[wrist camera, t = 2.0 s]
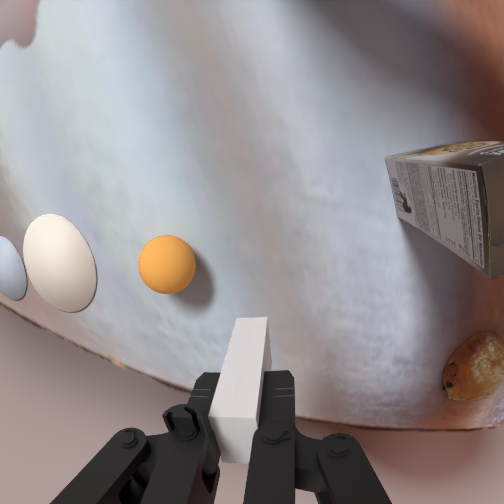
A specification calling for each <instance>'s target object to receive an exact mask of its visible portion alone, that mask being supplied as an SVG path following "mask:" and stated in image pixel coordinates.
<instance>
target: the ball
mask: <svg viewBox="0 0 504 504" xmlns="http://www.w3.org/2000/svg"><path fill="white" fill-rule="evenodd" d="M138 268H139V273H140V276H141V278H142V280H143V281H144V283H145V284H146V285H147V286H148V287H149V288H151V289H152V290H154V291H156V292H158V293H162V294H173V293H176V292H179V291H181V290H183V289H184V288H185V287H187V285H188V284H189V283H190V282H191V280H192V279H193V277H194V274H195V270H196V260H195V256H194V253H193V251H192V249H191V248H190V246H189V245H188V244H187V243H186V242H185V241H183V240H182V239H180V238H178V237H175V236H170V235H164V236H159V237H156V238H154V239H152V240H151V241H149V242H148V243H147V244H146V245H145V246H144V248H143V249H142V251H141V253H140V256H139V261H138Z"/></svg>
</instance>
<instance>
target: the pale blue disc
mask: <svg viewBox="0 0 504 504" xmlns="http://www.w3.org/2000/svg"><path fill="white" fill-rule="evenodd" d="M26 287H27V277H26V271H25V267H24V263H23V261H22V258H21V256H20V254H19V252H18V250H17V249H16V247H15V246H14V244H13V243H12V242H11V241H10V240H9V239H7V238H6V237H3V236H0V291H1V292H2V293H3V294H4V295H5V296H6V297H8V298H10V299H12V300H19V299H20V298H22V297H23V296H24V294H25V292H26Z"/></svg>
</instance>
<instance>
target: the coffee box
mask: <svg viewBox="0 0 504 504" xmlns="http://www.w3.org/2000/svg"><path fill="white" fill-rule="evenodd" d="M385 160H386V165H387V169H388V173H389V177H390V182H391V186H392V191H393V196H394V200H395V205H396V210H397V216H398V217H399V218H401V219H402V220H404V221H406V222H407V223H409V224H411V225H412V226H414V227H415V228H417V229H419V230H420V231H422V232H423V233H425V234H427V235H428V236H430V237H431V238H433V239H434V240H436V241H437V242H439V243H440V244H442V245H443V246H445V247H446V248H448V249H449V250H451V251H452V252H454V253H455V254H456V255H458V256H459V257H461V258H462V259H464V260H465V261H466V262H468V263H469V264H471V265H472V266H473V267H475V268H476V269H478V270H479V271H480V272H482V273H483V274H485V275H486V276H487V277H488V278H490V279H493V278H496V277H498V276H500V275H502V274H504V141H476V142H455V143H449V144H444V145H439V146H434V147H430V148H425V149H420V150H416V151H411V152H407V153H402V154H398V155H393V156H389V157H386V158H385Z"/></svg>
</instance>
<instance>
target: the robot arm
mask: <svg viewBox="0 0 504 504" xmlns="http://www.w3.org/2000/svg"><path fill="white" fill-rule="evenodd" d="M271 364H272V360H271V349H270V339H269V328H268V318H267V317H257V318H237V319H236V322H235V326H234V329H233V333H232V336H231V340H230V343H229V346H228V350H227V353H226V357H225V360H224V364H223V367H222V371H221V373H210V372H204V373H203V374H202V375H201V376H200V377H199V378H198V379H197V380H196V383H195V385H194V388H193V391H192V393H191V397H190V398H189V401H188V404H180V405H176V406H173V407H171V408H169V409H168V410H166V411H165V413H164V414H163V415H162V416H163V419H164V421H165V424H166V426H167V428H168V430H169V432H168V433H164V434H159V435H152V436H146V435H145V434H144V432H143V431H141V430H139V429H137V428H125V429H123V430H120V431H119V432H117V433H116V434H115V435H114V436H113V437H112V438H111V439H110V440H109V442H107V444H106V445H105V446H104V447H103V448H102V449H101V450H100V451H99V452H98V453H97V454H96V455H95V456H94V458H93V459H92V460H91V461H90V462H89V463H88V464H87V465H86V466H85V467H84V468H83V469H82V470H81V471H80V472H79V474H78V475H77V476H76V477H75V478H74V479H73V480H72V481H71V482H70V483H69V484H68V485H67V486H66V487H65V488H64V489H63V490H62V491H61V493H60V494H59V495H58V496H57V497H56V498H55V499H54V500H53V501H52V502H51V503H50V504H214V500H215V495H216V491H217V486H218V481H219V477H220V469H219V466H218V463H219V458H220V456H221V459H222V462H228V463H249V469H248V476H247V482H246V489H245V495H244V502H243V504H295V488H296V489H301V490H305V491H310V492H314V493H315V496H316V498H317V501H318V504H392V503H391V501H390V499H389V497H388V495H387V493H386V492H385V490H384V488H383V486H382V484H381V483H380V481H379V479H378V477H377V475H376V474H375V472H374V470H373V468H372V466H371V465H370V462H369V461H368V459H367V457H366V455H365V453H364V452H363V450H362V448H361V446H360V444H359V443H358V441H357V440H356V439H355V438H354V437H351V436H350V435H348V434H342V433H338V434H331V435H329V436H327V437H325V438H323V439H322V440H318V439H312V438H309V437H306V436H304V435H303V434H301V433H300V432H299V431H298V430H297V428H296V426H295V389H294V377H293V376H292V374H291V373H290V371H289V370H284V371H271Z"/></svg>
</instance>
